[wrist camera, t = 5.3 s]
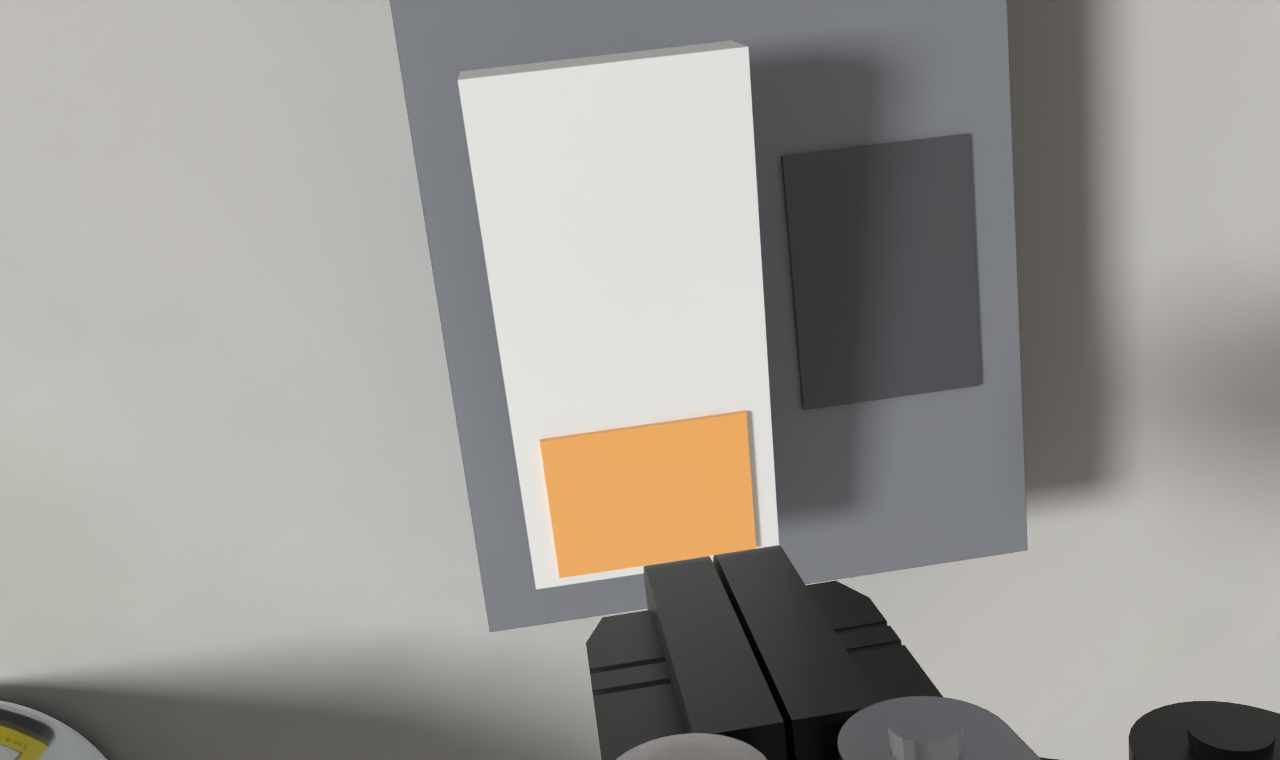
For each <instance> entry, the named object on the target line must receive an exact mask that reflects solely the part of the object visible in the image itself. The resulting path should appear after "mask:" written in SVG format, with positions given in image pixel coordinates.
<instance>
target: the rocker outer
mask: <svg viewBox="0 0 1280 760" xmlns="http://www.w3.org/2000/svg"><path fill="white" fill-rule="evenodd" d="M458 86H459V93H460V99H461V106H462V112H463V119H464V125H465V132H466V138H467V145H468V151H469V158H470V164H471V171H472V177H473V184H474V190H475V197H476V203H477V210H478V216H479V223H480V229H481V236H482V242H483V249H484V255H485V262H486V268H487V275H488V281H489V288H490V294H491V301H492V307H493V314H494V320H495V327H496V333H497V340H498V346H499V352H500V359H501V365H502V372H503V378H504V385H505V391H506V398H507V404H508V411H509V417H510V424H511V430H512V437H513V443H514V450H515V456H516V463H517V469H518V476H519V482H520V489H521V495H522V502H523V508H524V515H525V521H526V528H527V534H528V541H529V547H530V554H531V560H532V567H533V573H534V580H535V586H536V589H543V588H550V587H556V586H563V585H570V584H576V583H583V582H590V581H596V580H603V579H609V578H616V577H623V576H629V575H636V574H643V573H644V566H647V565H654V564H660V563H667V562H673V561H680V560H686V559H693V558H699V557H706V556H709V557H710V558H711V560H712V562H713V557H714V555H718V554H724V553H731V552H737V551H744V550H750V549H757V548H763V547H770V546H776V545H779V536H778V520H777V504H776V487H775V471H774V455H773V439H772V422H771V406H770V390H769V374H768V357H767V341H766V325H765V309H764V292H763V276H762V260H761V244H760V227H759V211H758V195H757V179H756V162H755V146H754V130H753V114H752V97H751V81H750V65H749V49H748V46H745V45H742V44H740V43H737V42H734V41H723V42H714V43H705V44H696V45H688V46H679V47H670V48H661V49H653V50H644V51H635V52H626V53H618V54H609V55H600V56H591V57H583V58H574V59H565V60H556V61H548V62H539V63H530V64H521V65H513V66H504V67H495V68H486V69H477V70H469V71H460V73H459V77H458Z"/></svg>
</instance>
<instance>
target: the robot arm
mask: <svg viewBox="0 0 1280 760" xmlns="http://www.w3.org/2000/svg"><path fill="white" fill-rule="evenodd" d="M644 582H645V591H646V599H647V607H648V611H641V612H635V613H629V614H622V615H616V616H609V617H603V618H602V619H601V621H600V622H599V624H598V625H597V627H596V629H595V630H594V632H593V633H592V635H591V636H590V638H589V639H588V641H587V642H586V646H587V653H588V661H589V668H590V676H591V683H592V691H593V698H594V706H595V713H596V720H597V728H598V735H599V743H600V750H601V758H602V760H1055V759H1047V758H1040V757H1038V756H1037V755H1036V754H1035V753H1034V751H1033V750H1032V749H1031V748H1030V747H1029V746H1028V745H1027V744H1026V743H1025V742H1024V741H1023V740H1022V739H1021V738H1020V737H1019V736H1018V735H1017V734H1016V733H1015V732H1014V731H1013V730H1012V729H1011V728H1010V727H1009V726H1008V725H1007V724H1006V723H1005V722H1004V721H1003V720H1001V719H1000V718H999V717H998V716H996V715H994V714H993V713H991V712H990V711H988V710H986V709H983V708H981V707H979V706H977V705H974V704H971V703H968V702H964V701H960V700H956V699H951V698H944V697H943V696H942V695H941V694H940V692H939V691H938V690H937V688H936V687H935V686H934V684H933V683H932V682H931V680H930V679H929V678H928V676H927V675H926V674H925V672H924V671H923V669H922V668H921V667H920V665H919V664H918V663H917V661H916V660H915V659H914V657H913V656H912V655H911V653H910V652H909V651H908V649H907V648H906V647H905V645H903V646H902V644H901V640H900V638H899V637H898V636H897V634H896V633H895V632H894V630H893V629H892V628H891V626H887V621H886V620H885V618H884V617H883V616H882V614H881V613H880V612H879V610H878V609H877V607H876V606H875V605H874V603H873V602H872V601H871V599H870V598H869V597H867V596H865V595H863V594H861V593H859V592H857V591H855V590H853V589H851V588H849V587H847V586H845V585H843V584H841V583H839V582H837V581H831V582H825V583H819V584H812V585H805V584H804V582H803V580H802V579H801V577H800V576H799V574H798V572H797V571H796V569H795V568H794V566H793V564H792V563H791V561H790V560H789V558H788V556H787V555H786V553H785V552H784V550H783V548H782V547H781V546H780V545H776V546H770V547H763V548H757V549H750V550H744V551H737V552H731V553H724V554H718V555H714V557H713V562H712V560H711V558H710V557H709V556H706V557H699V558H693V559H686V560H680V561H673V562H667V563H660V564H654V565H647V566H644ZM1056 760H1057V759H1056ZM1129 760H1280V714H1278V713H1275V712H1271V711H1268V710H1264V709H1260V708H1256V707H1251V706H1247V705H1241V704H1234V703H1229V702H1216V701H1193V702H1183V703H1176V704H1172V705H1167V706H1163V707H1160V708H1158V709H1155V710H1152V711H1151V712H1149V713H1147V714H1145V715H1143V716H1142V717H1141V718H1140V719H1138V720H1137V721H1136V722H1135V724H1134V725H1133V727H1132V728H1131V731H1130V735H1129Z"/></svg>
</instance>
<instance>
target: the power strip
mask: <svg viewBox="0 0 1280 760" xmlns="http://www.w3.org/2000/svg"><path fill="white" fill-rule="evenodd" d="M390 5H391V12H392V18H393V24H394V31H395V37H396V43H397V50H398V56H399V62H400V69H401V75H402V81H403V87H404V94H405V100H406V106H407V113H408V119H409V125H410V132H411V138H412V144H413V151H414V157H415V163H416V169H417V176H418V182H419V188H420V195H421V201H422V207H423V214H424V220H425V226H426V232H427V239H428V245H429V251H430V258H431V264H432V270H433V277H434V283H435V289H436V296H437V302H438V308H439V314H440V321H441V327H442V333H443V340H444V346H445V352H446V359H447V365H448V371H449V378H450V384H451V390H452V396H453V403H454V409H455V415H456V422H457V428H458V434H459V441H460V447H461V453H462V460H463V466H464V472H465V478H466V485H467V491H468V497H469V504H470V510H471V516H472V523H473V529H474V535H475V542H476V548H477V554H478V560H479V567H480V573H481V579H482V586H483V592H484V598H485V605H486V611H487V617H488V624H489V630H490V632H495V631H502V630H508V629H515V628H521V627H528V626H535V625H541V624H548V623H554V622H561V621H567V620H574V619H580V618H587V617H593V616H600V615H607V614H613V613H620V612H626V611H633V610H639V609H646V608H648V607H647V599H646V591H645V582H644V573H643V574H636V575H629V576H623V577H616V578H609V579H603V580H596V581H590V582H583V583H576V584H570V585H563V586H556V587H550V588H543V589H536V586H535V580H534V573H533V567H532V560H531V554H530V547H529V541H528V534H527V528H526V521H525V515H524V508H523V502H522V495H521V489H520V482H519V476H518V469H517V463H516V456H515V450H514V443H513V437H512V430H511V424H510V417H509V411H508V404H507V398H506V391H505V385H504V378H503V372H502V365H501V359H500V352H499V346H498V340H497V333H496V327H495V320H494V314H493V307H492V301H491V294H490V288H489V281H488V275H487V268H486V262H485V255H484V249H483V242H482V236H481V229H480V223H479V216H478V210H477V203H476V197H475V190H474V184H473V177H472V171H471V164H470V158H469V151H468V145H467V138H466V132H465V125H464V119H463V112H462V106H461V99H460V93H459V86H458V77H459V73H460V71H469V70H477V69H486V68H495V67H504V66H513V65H521V64H530V63H539V62H548V61H556V60H565V59H574V58H583V57H591V56H600V55H609V54H618V53H626V52H635V51H644V50H653V49H661V48H670V47H679V46H688V45H696V44H705V43H714V42H723V41H734V42H737V43H740V44H742V45H745V46H748V49H749V65H750V81H751V97H752V114H753V130H754V146H755V162H756V179H757V195H758V211H759V227H760V244H761V260H762V276H763V292H764V309H765V325H766V341H767V357H768V374H769V390H770V406H771V422H772V439H773V455H774V471H775V487H776V504H777V520H778V536H779V545H780V546H781V547H782V548H783V550H784V552H785V553H786V555H787V556H788V558H789V560H790V561H791V563H792V564H793V566H794V568H795V569H796V571H797V572H798V574H799V576H800V577H801V579H802V580H803V582H804V584H810V583H816V582H823V581H829V580H836V579H843V578H849V577H856V576H862V575H869V574H875V573H882V572H888V571H895V570H902V569H908V568H915V567H921V566H928V565H934V564H941V563H947V562H954V561H960V560H967V559H974V558H980V557H987V556H993V555H1000V554H1006V553H1013V552H1019V551H1026V550H1028V546H1027V520H1026V494H1025V468H1024V442H1023V416H1022V389H1021V363H1020V337H1019V311H1018V285H1017V259H1016V232H1015V206H1014V180H1013V154H1012V128H1011V102H1010V76H1009V49H1008V23H1007V0H390Z"/></svg>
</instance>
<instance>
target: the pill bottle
mask: <svg viewBox="0 0 1280 760" xmlns="http://www.w3.org/2000/svg"><path fill="white" fill-rule="evenodd" d="M0 760H107V759H106V758H105V757H104V756H103V755H102V754H101V753H100V751H99V750H98V749H97V748H96V747H95V746H94V745H93V744H92V743H90V742H89V741H88V740H87V739H86V738H84V737H83V736H82V735H80V734H79V733H78V732H76V731H75V730H73V729H72V728H70V727H69V726H67V725H65V724H64V723H62V722H60V721H58V720H57V719H55V718H52V717H50V716H48V715H46V714H44V713H42V712H39V711H37V710H34V709H31V708H28V707H25V706H21V705H18V704H14V703H11V702H5V701H0Z"/></svg>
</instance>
